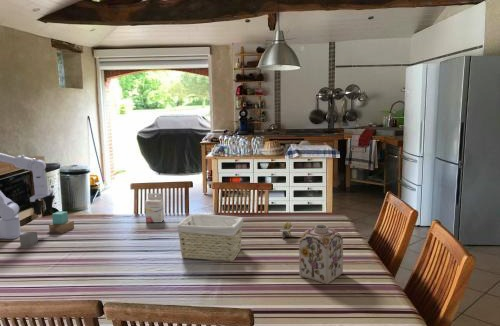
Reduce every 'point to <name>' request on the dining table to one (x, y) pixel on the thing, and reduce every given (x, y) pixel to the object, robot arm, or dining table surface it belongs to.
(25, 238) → the gray cube
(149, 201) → the ink cartridge box
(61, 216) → the teal cube
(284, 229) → the small potted plant
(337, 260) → the decorative jar
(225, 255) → the storage basket
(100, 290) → the dining table surface
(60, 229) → the base block
